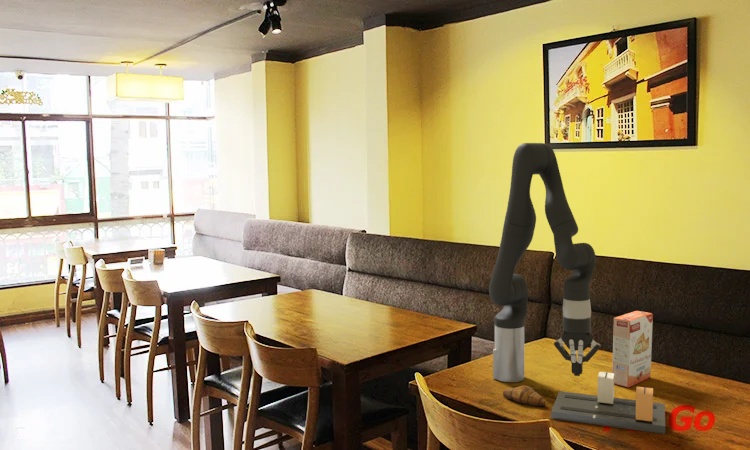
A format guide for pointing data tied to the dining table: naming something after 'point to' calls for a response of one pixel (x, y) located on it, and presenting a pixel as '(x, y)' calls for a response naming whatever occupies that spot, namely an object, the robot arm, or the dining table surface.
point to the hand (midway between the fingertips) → (577, 375)
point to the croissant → (524, 396)
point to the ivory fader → (605, 387)
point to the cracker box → (632, 348)
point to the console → (606, 412)
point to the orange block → (644, 404)
